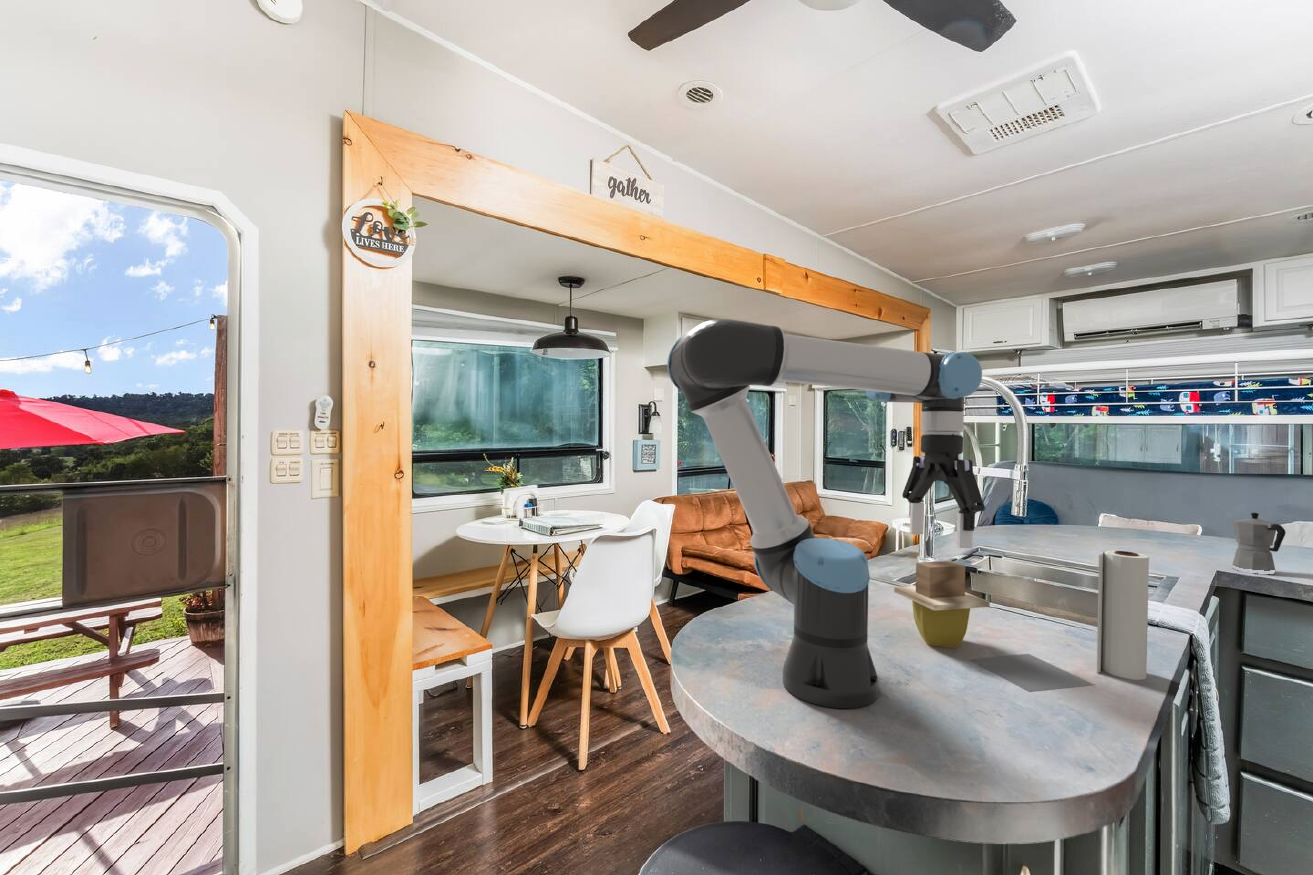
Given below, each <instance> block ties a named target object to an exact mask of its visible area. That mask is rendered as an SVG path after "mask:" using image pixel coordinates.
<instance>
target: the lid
mask: <svg viewBox="0 0 1313 875" xmlns="http://www.w3.org/2000/svg"><path fill="white" fill-rule="evenodd" d="M894 593H896V594H897V595H899V596H900V595H901V596H902V597H905V598H906V599H908V600H911V601H912V600H913V601H915V602H917V603H919V604H921V605H923V606H926V607H928V608H930V609H932V610H934V611H937V610H951V609H966V608H970V609H975V608H976V609H979V608H989V607H990V605H991V604H990V601H989V600H987V599H984V598H981V597H979V596H976V595H974V594H971V593H969V592H966V565H964V564H962V563H961V564H960V563H959V562H955V561H952V560H944V561H942V560H941V561H925V562H923V561H922V562H916V563H915V585H911V586H895V587H894Z"/></svg>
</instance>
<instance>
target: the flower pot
mask: <svg viewBox="0 0 1313 875" xmlns="http://www.w3.org/2000/svg"><path fill="white" fill-rule="evenodd" d="M911 603H912V611H913V612H912V613H913V618H914V623H915V626H916V629H917V630H918V632H919V634H920V637H921V638H922V639H923V641H924V642H925V644H926V645H927V646H931V647H940V648H941V647H943V648H954V649H956V648H957V647H959V646H960V645H961V643H962V642H963V640H964V639H965V635H966V634H967V630H968V624H969V618H970V613H971V608H966V609H951V610H937V611H934V610H932V609H930V608H928V607H926V606H923V605H921V604H919V603H917V602H915V601H913V600H911Z"/></svg>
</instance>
